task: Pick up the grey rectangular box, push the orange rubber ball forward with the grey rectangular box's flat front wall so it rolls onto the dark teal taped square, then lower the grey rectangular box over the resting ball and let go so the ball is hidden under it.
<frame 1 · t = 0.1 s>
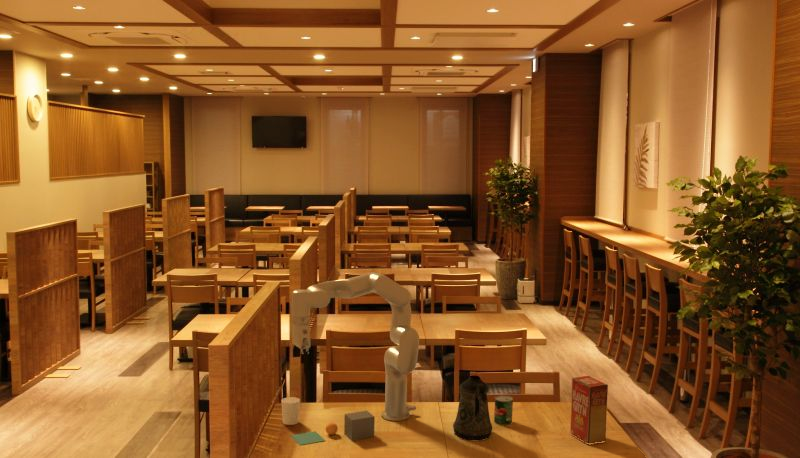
hand: (300, 359, 327), 31 cm above the table, tool pointing down, fingers open, 9 cm apart
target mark: (307, 438, 324), on the table
ball: (331, 428, 329), on the table
beer stein: (475, 435, 332), on the table
white cup: (290, 422, 342), on the table
grey rectangular box: (359, 435, 328), on the table
food packaging: (587, 438, 330), on the table
canned tomato: (503, 422, 347), on the table
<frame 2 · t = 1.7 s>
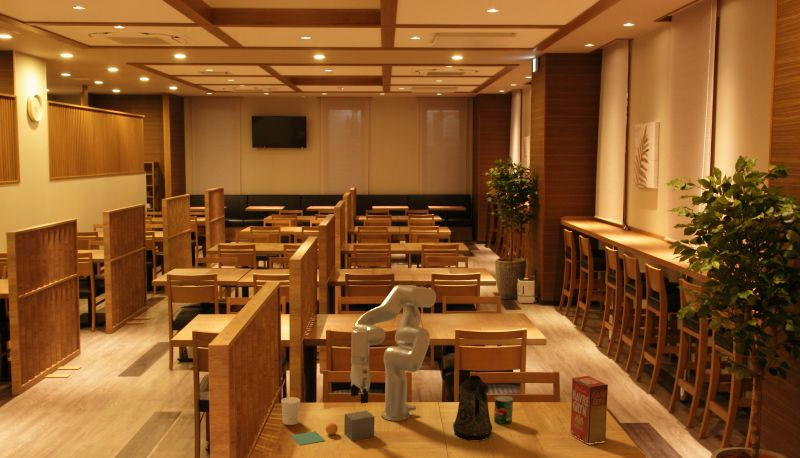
hand: (359, 399, 326), 16 cm above the table, tool pointing down, fingers open, 9 cm apart
nothing on the table moved.
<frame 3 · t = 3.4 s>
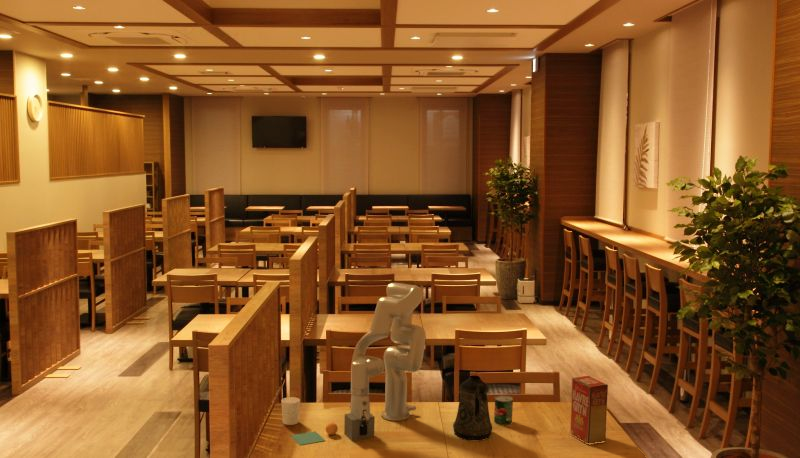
hand: (359, 431, 328), 2 cm above the table, tool pointing down, fingers closed on grey rectangular box, 7 cm apart
grey rectangular box: (359, 435, 328), on the table, touching gripper
everything else where it was.
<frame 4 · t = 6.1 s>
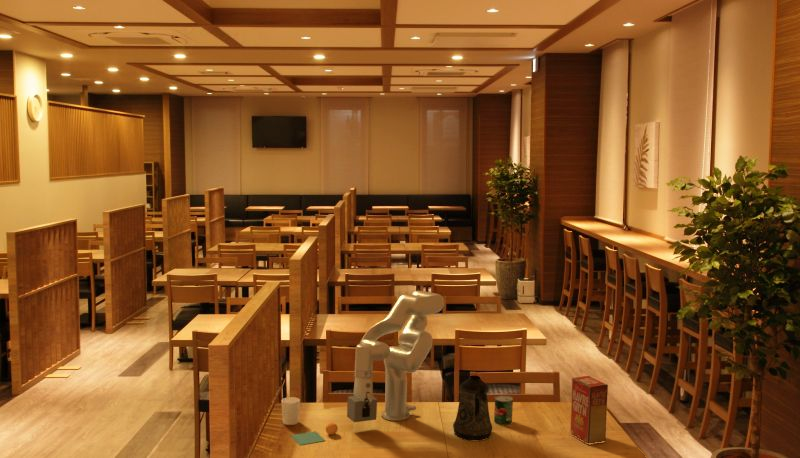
hand: (361, 413, 334), 7 cm above the table, tool pointing down, fingers closed on grey rectangular box, 7 cm apart
grey rectangular box: (361, 418, 334), point 5 cm above the table, touching gripper
everything else where it was.
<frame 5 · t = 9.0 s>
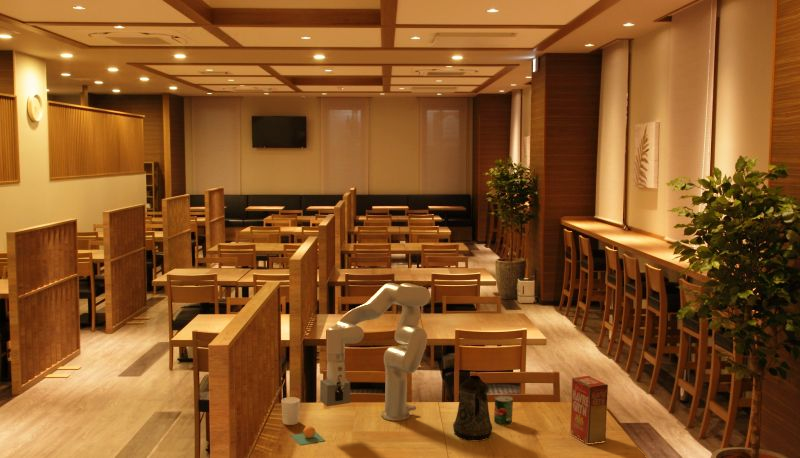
hand: (335, 397, 328), 16 cm above the table, tool pointing down, fingers closed on grey rectangular box, 7 cm apart
ball: (309, 432, 324), on the table
grey rectangular box: (335, 401, 328), point 14 cm above the table, touching gripper
everything else where it was.
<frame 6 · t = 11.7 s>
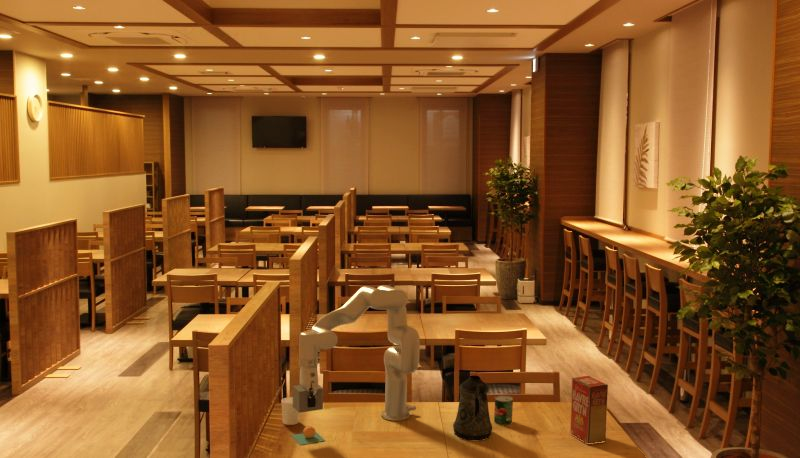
hand: (307, 403, 322), 15 cm above the table, tool pointing down, fingers closed on grey rectangular box, 7 cm apart
grey rectangular box: (307, 407, 323), point 13 cm above the table, touching gripper
everything else where it was.
when the fingers open (2 cm above the table, at t = 14.4 s): grey rectangular box stays where it is, on the table.
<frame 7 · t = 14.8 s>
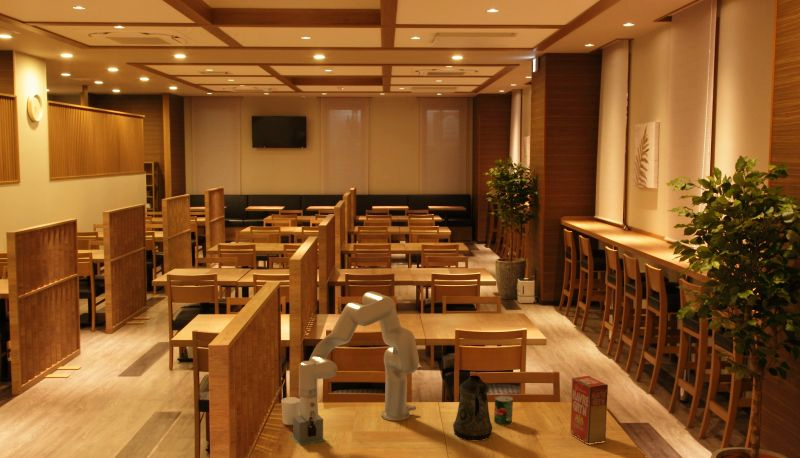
hand: (307, 431, 324), 3 cm above the table, tool pointing down, fingers open, 9 cm apart
grey rectangular box: (307, 438, 324), on the table
everything else where it was.
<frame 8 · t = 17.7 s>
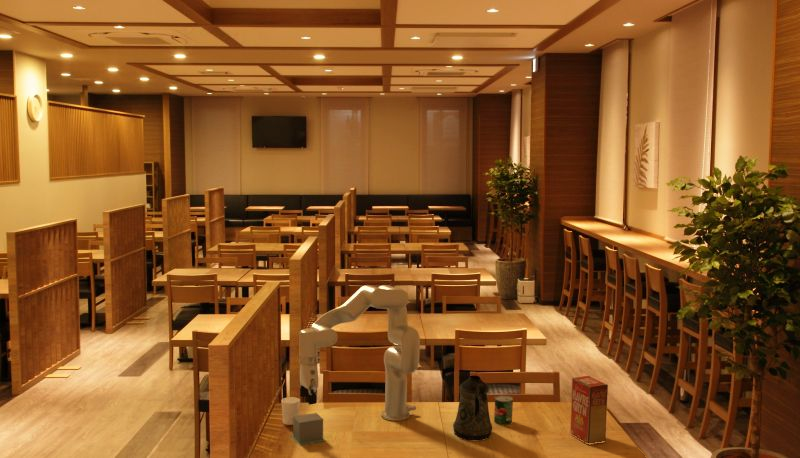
hand: (308, 400, 322), 16 cm above the table, tool pointing down, fingers open, 9 cm apart
nothing on the table moved.
at the end: ball 0.6 cm from the grey rectangular box (horizontally); grey rectangular box on the table; ball moved 9.8 cm from its start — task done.
